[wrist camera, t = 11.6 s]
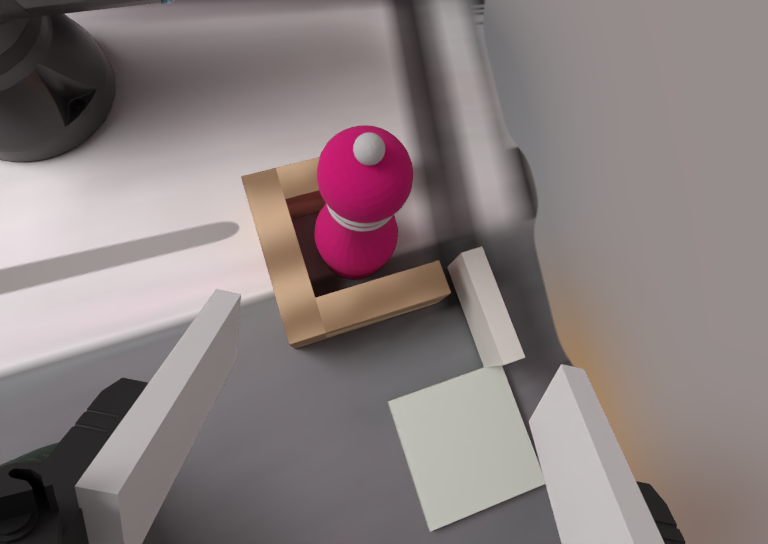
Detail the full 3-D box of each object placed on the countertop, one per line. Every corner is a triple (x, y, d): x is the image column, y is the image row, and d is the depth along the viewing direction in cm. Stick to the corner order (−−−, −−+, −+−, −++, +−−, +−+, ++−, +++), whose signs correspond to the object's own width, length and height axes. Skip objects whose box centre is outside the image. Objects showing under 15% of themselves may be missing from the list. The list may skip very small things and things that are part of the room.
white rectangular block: (447, 267, 44) (461, 252, 39) (465, 261, 44) (482, 246, 39) (484, 367, 42) (503, 365, 37) (503, 360, 42) (525, 357, 37)
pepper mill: (305, 227, 43) (282, 103, 24) (374, 202, 45) (404, 67, 25) (332, 296, 42) (332, 223, 23) (402, 268, 44) (458, 178, 24)
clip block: (251, 199, 44) (241, 176, 39) (387, 164, 46) (394, 138, 41) (294, 348, 41) (289, 344, 36) (437, 302, 43) (450, 292, 38)
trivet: (387, 401, 40) (388, 401, 40) (497, 362, 42) (500, 361, 42) (428, 528, 38) (430, 531, 38) (542, 481, 40) (546, 483, 39)
